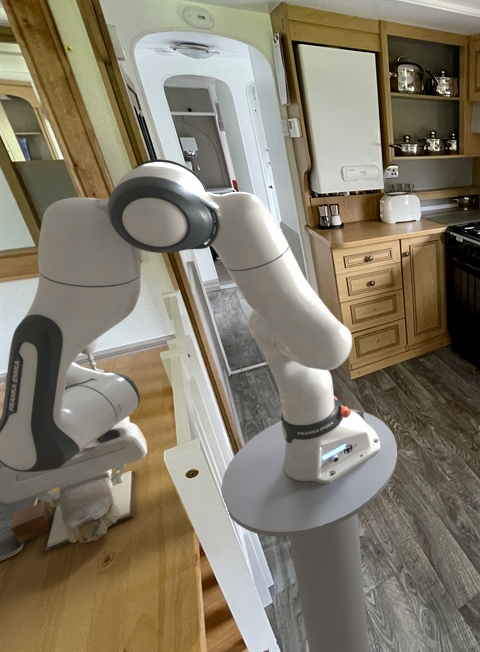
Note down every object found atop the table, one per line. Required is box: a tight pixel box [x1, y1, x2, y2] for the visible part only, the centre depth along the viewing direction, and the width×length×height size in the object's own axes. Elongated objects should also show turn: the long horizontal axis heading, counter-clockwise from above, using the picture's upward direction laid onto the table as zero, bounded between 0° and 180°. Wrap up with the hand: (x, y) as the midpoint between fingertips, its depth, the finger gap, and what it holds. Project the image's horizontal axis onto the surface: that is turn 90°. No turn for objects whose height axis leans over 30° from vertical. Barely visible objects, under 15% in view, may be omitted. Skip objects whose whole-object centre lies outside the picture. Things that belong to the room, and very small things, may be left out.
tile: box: [44, 470, 136, 553], centre depth 76 cm, size 12×14×1 cm
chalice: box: [80, 338, 106, 372], centre depth 115 cm, size 7×7×18 cm
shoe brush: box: [59, 469, 120, 544], centre depth 75 cm, size 24×8×5 cm, turn 47°
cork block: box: [10, 501, 53, 545], centre depth 71 cm, size 4×4×4 cm
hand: (89, 492), depth 75 cm, fingers closed on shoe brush, 7 cm apart
